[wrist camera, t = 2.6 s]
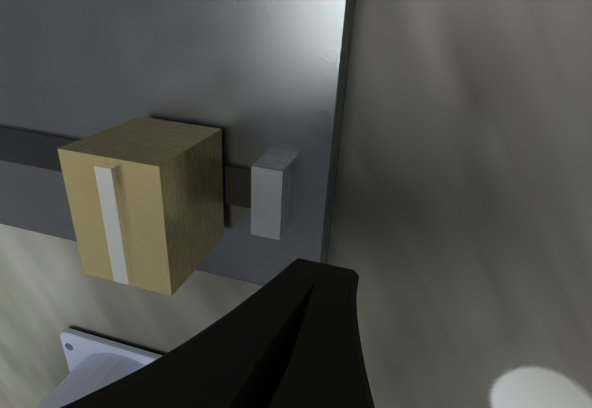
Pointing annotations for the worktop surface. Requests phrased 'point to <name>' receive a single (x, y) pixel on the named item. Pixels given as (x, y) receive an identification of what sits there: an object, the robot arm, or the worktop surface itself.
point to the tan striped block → (145, 200)
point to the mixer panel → (184, 108)
